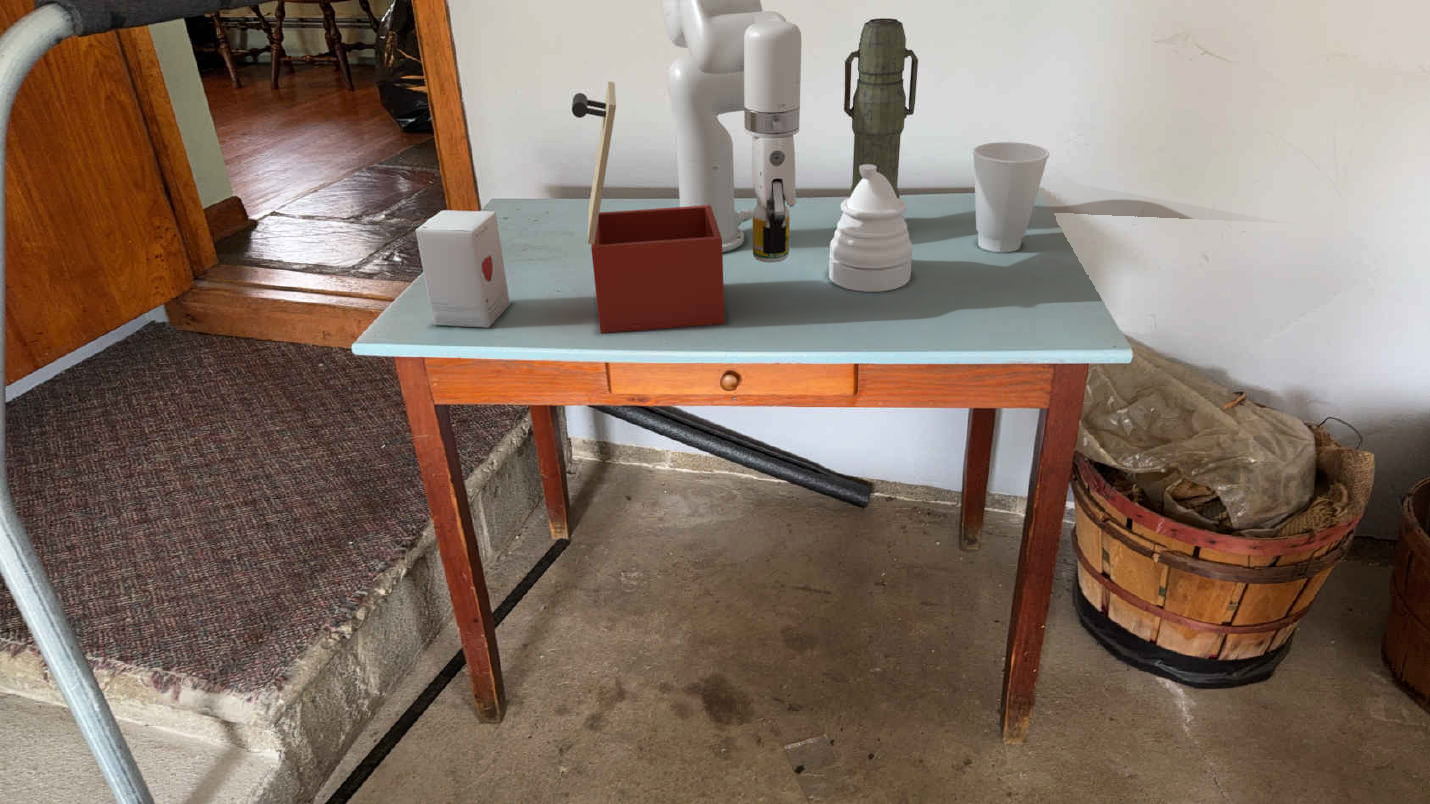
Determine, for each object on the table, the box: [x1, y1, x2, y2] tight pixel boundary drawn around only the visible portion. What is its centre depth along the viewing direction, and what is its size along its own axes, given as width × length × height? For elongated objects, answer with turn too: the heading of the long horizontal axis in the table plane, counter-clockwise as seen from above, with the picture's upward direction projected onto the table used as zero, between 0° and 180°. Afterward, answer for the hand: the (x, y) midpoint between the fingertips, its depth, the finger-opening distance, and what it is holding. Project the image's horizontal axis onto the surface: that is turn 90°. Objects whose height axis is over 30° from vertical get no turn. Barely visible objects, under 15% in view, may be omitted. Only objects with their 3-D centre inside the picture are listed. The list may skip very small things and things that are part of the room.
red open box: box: [590, 205, 726, 334], centre depth 137 cm, size 18×15×13 cm
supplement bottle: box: [752, 197, 790, 264], centre depth 134 cm, size 5×5×10 cm
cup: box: [972, 141, 1050, 253], centre depth 154 cm, size 12×12×16 cm
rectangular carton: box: [415, 209, 510, 329], centre depth 136 cm, size 9×9×15 cm
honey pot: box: [828, 164, 913, 293], centre depth 143 cm, size 13×13×18 cm
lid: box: [571, 81, 617, 245], centre depth 128 cm, size 19×15×5 cm
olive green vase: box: [843, 17, 919, 200], centre depth 159 cm, size 9×12×35 cm
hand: (770, 243), depth 135 cm, fingers closed on supplement bottle, 5 cm apart
